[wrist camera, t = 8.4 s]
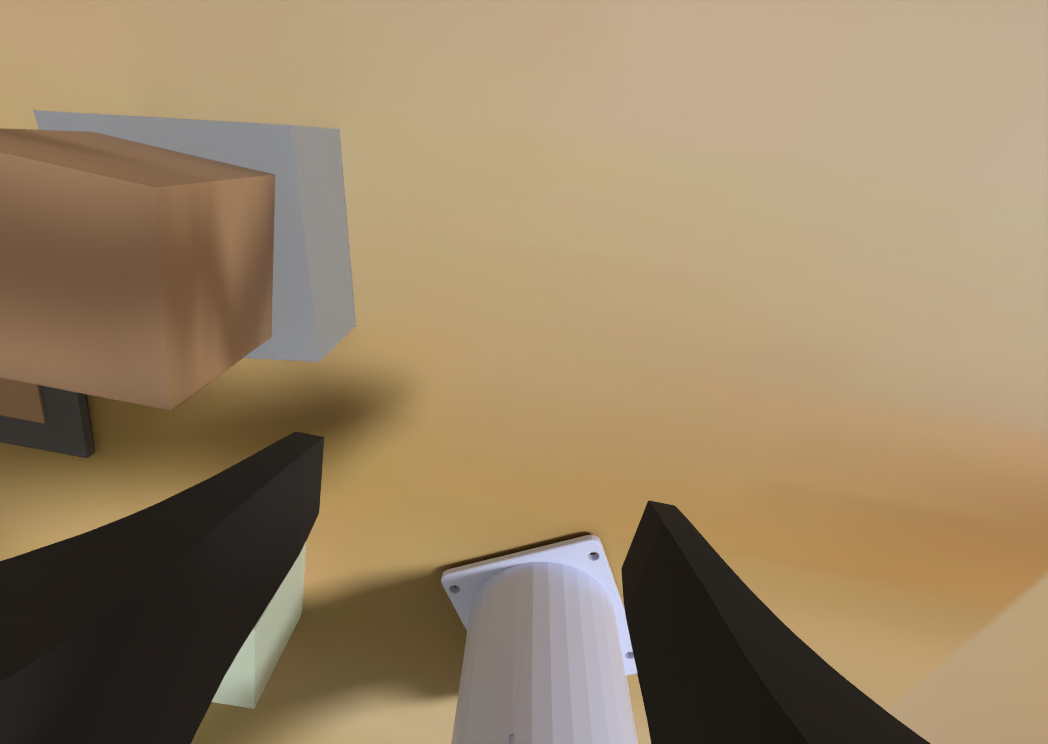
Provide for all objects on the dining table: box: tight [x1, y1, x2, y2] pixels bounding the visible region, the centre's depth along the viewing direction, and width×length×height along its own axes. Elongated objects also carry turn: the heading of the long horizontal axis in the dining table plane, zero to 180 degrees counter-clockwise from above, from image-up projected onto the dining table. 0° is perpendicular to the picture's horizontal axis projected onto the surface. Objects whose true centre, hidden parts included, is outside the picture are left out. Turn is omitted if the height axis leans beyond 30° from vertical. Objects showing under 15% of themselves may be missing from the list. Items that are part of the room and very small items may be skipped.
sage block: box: [212, 542, 306, 709], centre depth 23 cm, size 5×5×5 cm
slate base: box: [33, 110, 356, 362], centre depth 17 cm, size 7×7×4 cm
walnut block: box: [0, 129, 275, 411], centre depth 13 cm, size 5×5×5 cm
